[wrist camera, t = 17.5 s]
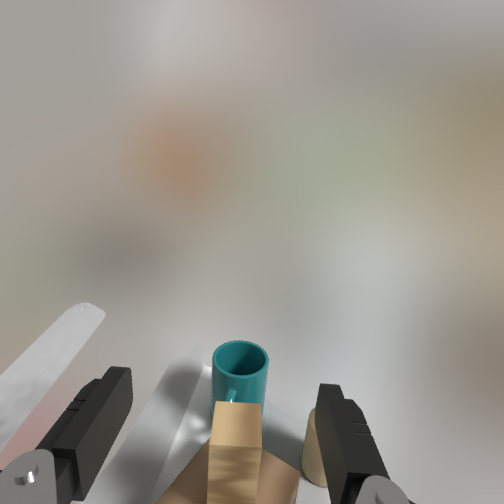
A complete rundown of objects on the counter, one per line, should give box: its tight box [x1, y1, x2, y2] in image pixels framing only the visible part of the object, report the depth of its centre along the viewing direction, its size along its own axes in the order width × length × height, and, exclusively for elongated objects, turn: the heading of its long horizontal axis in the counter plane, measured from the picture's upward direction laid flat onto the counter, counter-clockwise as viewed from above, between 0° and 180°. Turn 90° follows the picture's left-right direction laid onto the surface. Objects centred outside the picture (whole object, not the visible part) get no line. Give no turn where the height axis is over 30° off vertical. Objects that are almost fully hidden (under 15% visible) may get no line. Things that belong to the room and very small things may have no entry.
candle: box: [301, 407, 328, 487], centre depth 39 cm, size 6×6×10 cm
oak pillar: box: [207, 401, 262, 504], centre depth 31 cm, size 5×5×10 cm
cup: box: [210, 341, 269, 418], centre depth 46 cm, size 9×12×11 cm
